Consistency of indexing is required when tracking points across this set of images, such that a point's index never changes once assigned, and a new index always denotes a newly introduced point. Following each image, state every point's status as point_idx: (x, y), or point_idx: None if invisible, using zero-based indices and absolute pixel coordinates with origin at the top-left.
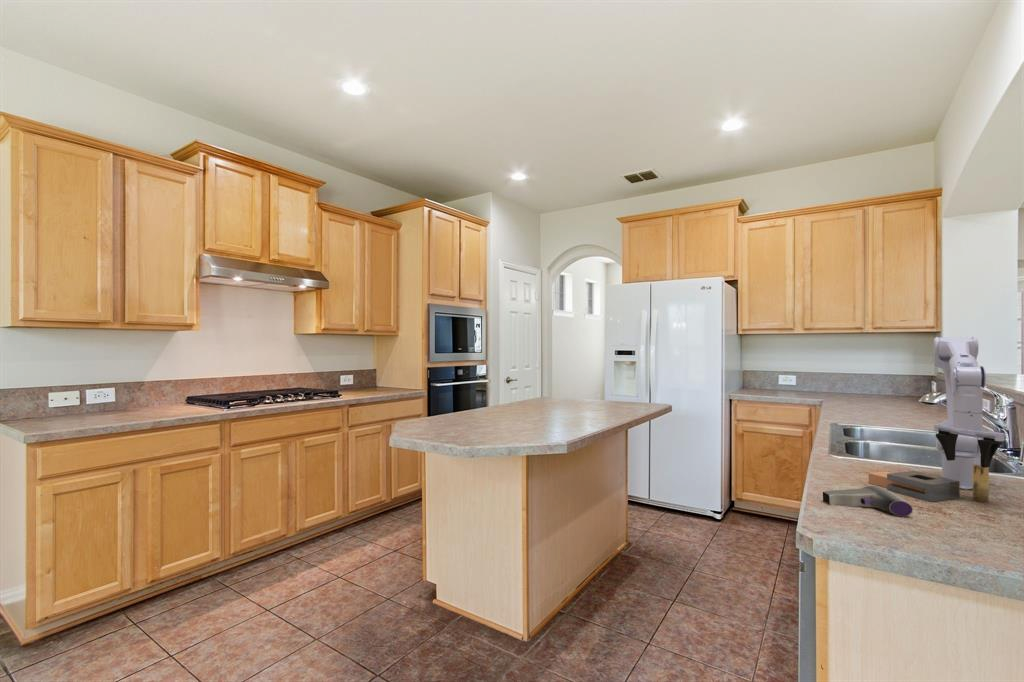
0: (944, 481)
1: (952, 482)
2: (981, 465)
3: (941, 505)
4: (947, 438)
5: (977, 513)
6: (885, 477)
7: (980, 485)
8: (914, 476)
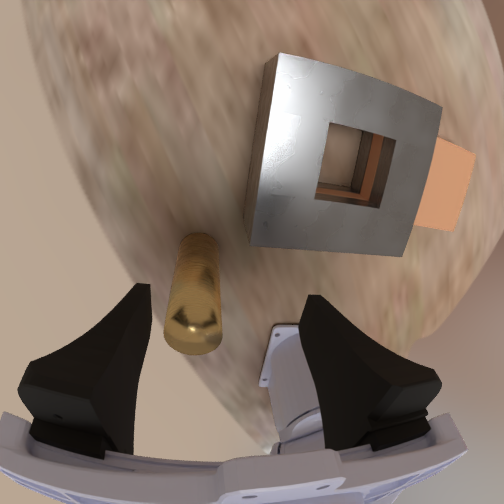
0: (278, 176)
1: (256, 198)
2: (144, 286)
3: (228, 53)
4: (366, 393)
5: (125, 73)
6: (439, 138)
7: (186, 264)
8: (383, 180)
